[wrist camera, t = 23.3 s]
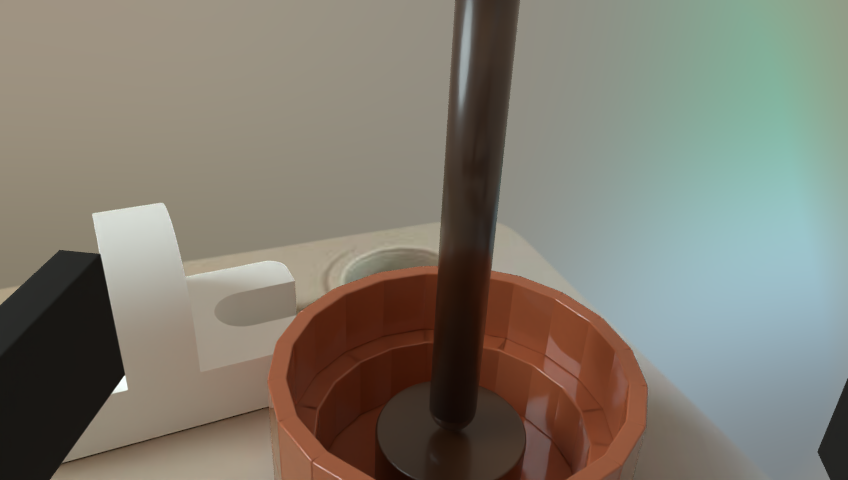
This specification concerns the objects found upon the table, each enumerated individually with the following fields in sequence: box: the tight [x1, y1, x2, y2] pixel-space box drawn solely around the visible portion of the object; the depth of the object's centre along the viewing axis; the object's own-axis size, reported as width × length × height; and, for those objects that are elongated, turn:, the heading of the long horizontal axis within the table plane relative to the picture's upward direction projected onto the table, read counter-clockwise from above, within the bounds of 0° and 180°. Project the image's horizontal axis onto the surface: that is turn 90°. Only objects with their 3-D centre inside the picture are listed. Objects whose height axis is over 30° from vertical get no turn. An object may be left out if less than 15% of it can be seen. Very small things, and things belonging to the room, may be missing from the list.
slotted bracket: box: [62, 203, 297, 463], centre depth 30 cm, size 13×7×8 cm, turn 116°
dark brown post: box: [375, 0, 526, 480], centre depth 22 cm, size 5×5×19 cm
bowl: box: [267, 266, 648, 480], centre depth 26 cm, size 12×12×6 cm
